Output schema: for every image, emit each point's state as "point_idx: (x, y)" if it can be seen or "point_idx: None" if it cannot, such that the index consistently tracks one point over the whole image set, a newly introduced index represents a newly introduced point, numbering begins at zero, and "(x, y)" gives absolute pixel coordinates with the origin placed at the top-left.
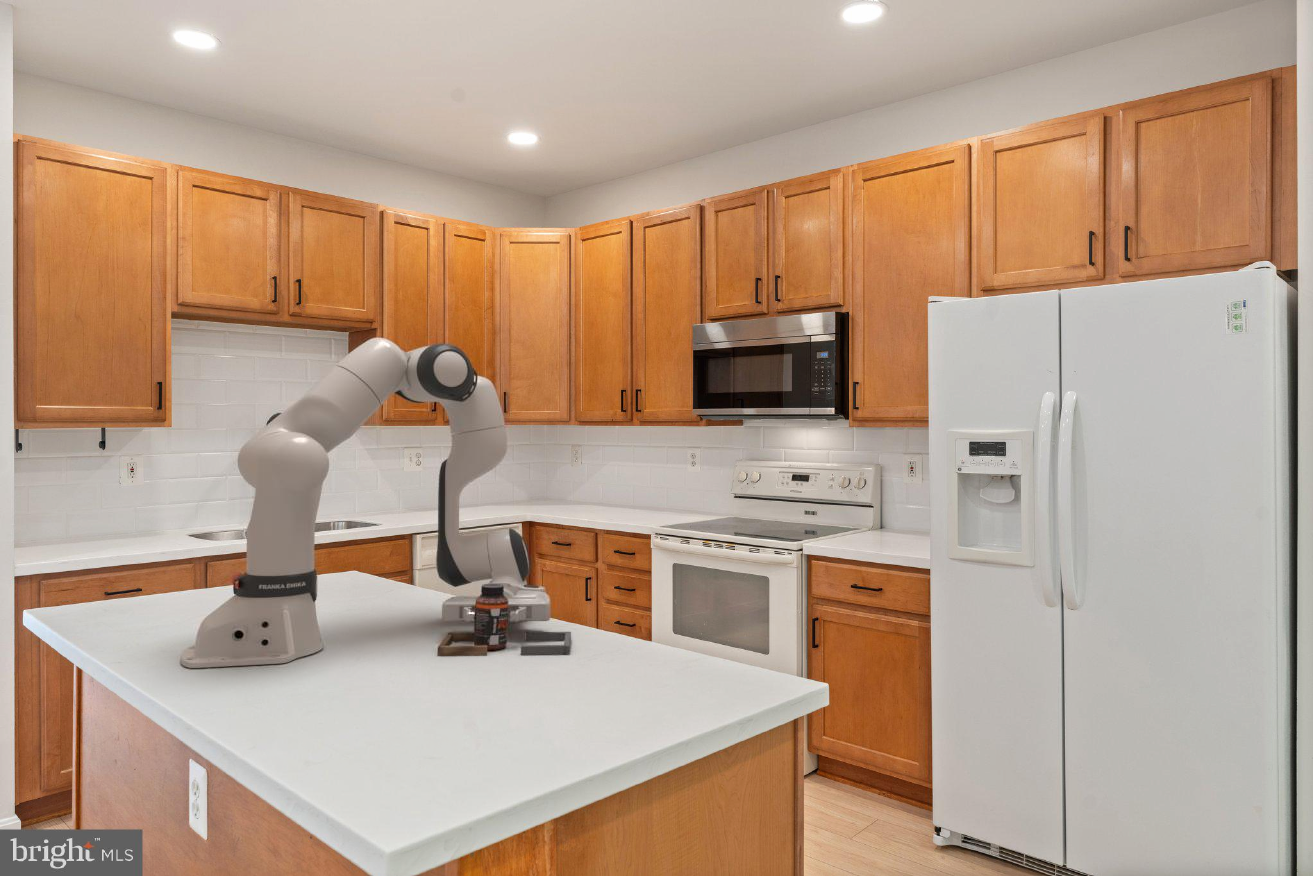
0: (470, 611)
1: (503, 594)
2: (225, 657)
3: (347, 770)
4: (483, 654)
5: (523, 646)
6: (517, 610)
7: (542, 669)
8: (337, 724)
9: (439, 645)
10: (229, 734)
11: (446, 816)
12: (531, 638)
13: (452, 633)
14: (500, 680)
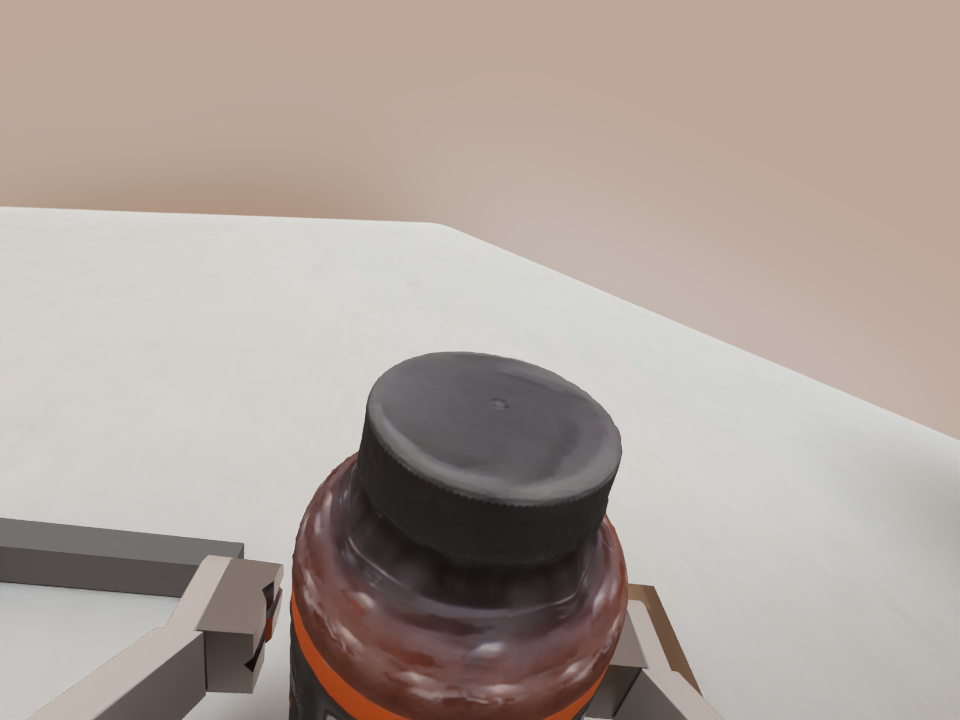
0: (633, 636)
1: (356, 493)
2: None
3: (509, 266)
4: None
5: (228, 542)
6: (181, 629)
7: (219, 412)
8: (581, 317)
9: (665, 618)
10: (680, 327)
11: (413, 226)
12: None
13: None
14: (365, 375)
